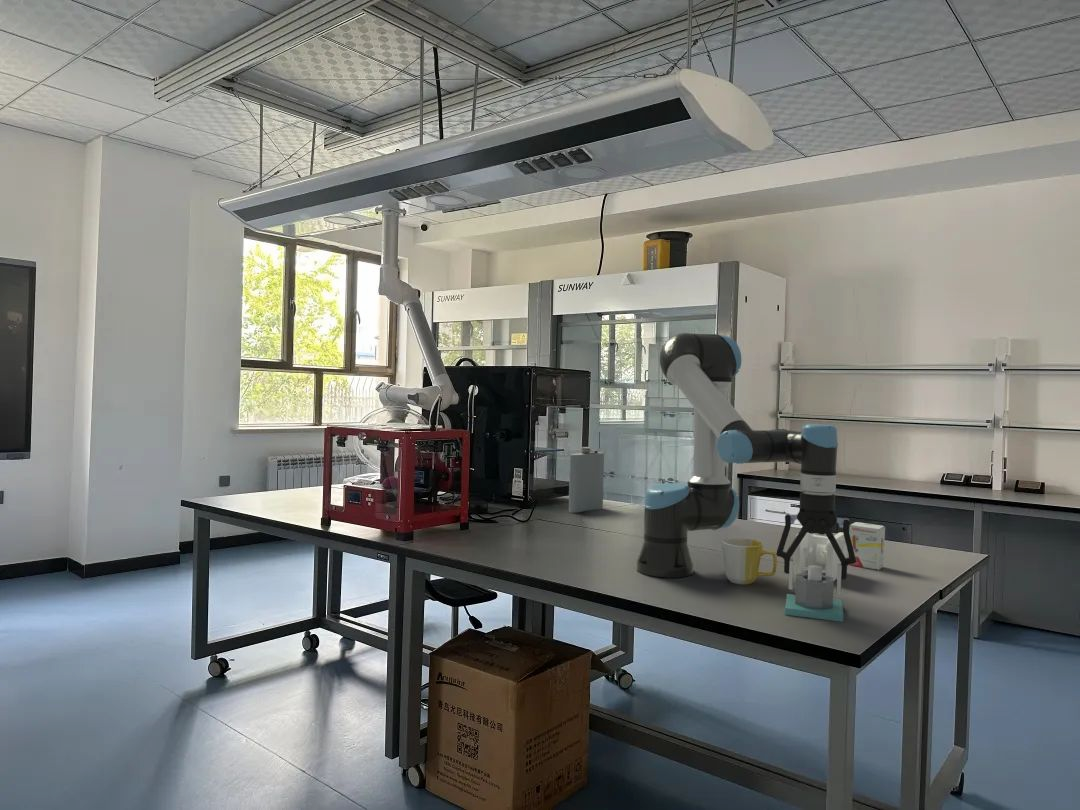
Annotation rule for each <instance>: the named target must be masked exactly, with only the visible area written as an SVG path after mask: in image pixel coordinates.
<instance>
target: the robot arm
mask: <svg viewBox="0 0 1080 810" xmlns="http://www.w3.org/2000/svg"><path fill="white" fill-rule="evenodd" d="M659 365H660V369H661V372H662V373H663V375H664V377H665V378H666V379H667V381H668V382H669V383H670V384H671V385H674V386H677V387H678V389H679V390H680V391H681V392H682V393H683V395H684V396H685V398H686V399H687V400H688V401H689V403H690V404H691V405H692V407H693V409H694V411H693V413H694V414H693V462H692V463H693V466H692V467H693V471H692V473H693V474H692V475H691V476H690V477H689V478H688V479H687V484H685V483H681V482H671V483H670V482H666V483H659V484H654V485H651V486H650V487H648V488H647V490H646V491H645V494H644V503H643V507H644V522H643V523H644V524H643V543H642V546H641V549H640V551H639V554H638V557H637V559H636V571H638V572H639V573H641V574H643V575H647V576H651V577H656V578H657V577H658V578H675V579H676V578H683V577H688V576H691V575H693V573H694V562H693V559H692V556H691V552H690V549H689V545H688V534H689V533H688V532H692V531H693V532H694V531H706V530H708V531H709V530H712V531H716V530H719V529H726V528H728V527H730V526H731V525H732V524H733V523H734V522H735V521H736V519H737V517H738V516H739V511H740V500H739V496H737V495H738V494H737V492H736V490H735V489H734V488H732V486H731V481H730V479H728V477H726V474H725V473H726V463H729V464H737V465H738V464H739V465H740V464H741V465H742V464H754V463H783V462H784V463H794V464H800V481H799V483H800V485H799V486H800V490H801V491H802V492H800V493H799V511H798V513H797V514H791V513H785V516H784V522H785V524H784V528H783V531H782V534H781V537H780V539H779V543H778V546H777V549H776V555H777V557H779V558H782V559H783V560H784V561H783V562H784V564H783V572H784V574H786V575H787V574H788V575H789V576H788V590H793V588H794V587H793V582H794V580H793V579H794V558H792V556H793V555H794V554H795V550H796V548H797V547H798V545H799V544H800V542H801V541H802V539H803V538H804V536H805V535H806V533H807V532H808V533H810V534H814V533H816V535H821V536H823V535H826V537H828V539H829V541H830V543H831V545H832V546H833V548H834V550H835V552H836V554H837V556H838V558H839V560H840V562H841V563H838V565H837V579H836V595H839V596H840V595H841V592H842V580H845V581H846V579H847V576H848V566H850V565H849V564H854V563H856V558H855V554H854V550H853V546H852V542H851V538H850V534H849V531H850V523H851V522H850V519H849V518H847V517H844V518H842V517H837V515H836V513H835V512H836V496H835V494H833V493H835V492H836V491H837V489H836V487H837V457H838V445H839V443H838V431H837V427H836V426H835V425H831V424H821V423H806V424H804V425H802V430H801V431H798V430H790V429H787V428H786V429H784V428H776V429H775V428H774V429H773V428H772V429H770V430H768V429H767V430H762V429H761V430H759V429H758V430H757V429H755V430H754V429H753V428H752V427H751V426H750V425H749V424H748V422H747V421H746V420H745V419H744V418H743V417H742V416H741V414H739V412H738V411H737V409H735V407H734V406H733V405H732V404H731V402H730V401H729V400H728V399H727V390H728V388H729V387H730V386H731V384H733V378H734V376H736V375H738V373H739V369H741V366H742V353H741V349H740V347H739V345H738V343H737V342H736V341H735V339H733V338H732V337H730V336H727V335H721V334H716V333H713V334H709V333H708V334H707V333H688V332H682V333H678V334H675V335H672V336H671V337H669V339H668V340H666V341H665V343H664V344H663V345H662V347H661V349H660V352H659ZM796 520H797V521H798V522H799V523H800V525H801V526H802V527H800V530H799V532H798V533H797V534H798V535H797V534H796V535H797V536H795V538H794V539H793V541H792V543H791V545H790V546H789V547H788V549H787V550H786V551H785V550H784V549H785V545H786V543H787V539H788V536H789V533H790V530H791V525H793V524H795V522H796ZM836 524H838V526H839V528H840V529H842V533H843V534H844V538H845V542H846V546H847V555H848V556H847V558H845V556H844V554H843V552H842V550H841V548H840V546H839V545H838V543H837V541H836V539H835V537H834V533H833V531H832V528H833V527H834V526H835V525H836Z"/></svg>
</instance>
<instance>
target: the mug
mask: <svg viewBox="0 0 1080 810" xmlns="http://www.w3.org/2000/svg"><path fill="white" fill-rule="evenodd" d="M763 546H764V544H763V542H762V541H760V540H757V539H754V538H747V537H729V538H728V537H726V538H724V539H722V540H721V547H722V549H721V550H722V555H723V556H722V557H723V563H724V570H725V571H724V572H725V576H726V578H727V579H728V580H729V582H730V583H732V584H736V585H751V584H752V583H754V582H755V580H756V579H757V578H758V577H771V576H774V575H776V573H777V572H776V571H777V566H778V565H777V564H778V560H777V559H778V556H777V555H776V553H777V551H773V550H763ZM765 555H772V558H773V568H772V571H771V572H763V571H762V572H760V571H759V568H760V563H761V557H762V556H765Z"/></svg>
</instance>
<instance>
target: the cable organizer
mask: <svg viewBox="0 0 1080 810" xmlns="http://www.w3.org/2000/svg"><path fill="white" fill-rule="evenodd" d="M797 535H798V533H797V534H796V536H797ZM833 535H834V534H833ZM796 536H795V537H796ZM834 537H835V539H836V541H837V543H838V545H839V546H840V548H841V550H842V552H843V554H844V556H845V558H848V550H847V546H846V542H845V538H844V534H843V531H842V532H837V533H835V535H834ZM838 563H841V562H840V560H839V558H838V556H837V554H836V552H835V550H834V548H833V546H832V545H831V543H830V541H829V539H828V537H827V536H823V535H819V534H817V533H814V534H810V533H808V532H807V533H806V535H805V536H804V538H803V539H802V541H801V542H800V544H799V545H798V547H797V548H796V550H795V551H794V559H793V574H795V575H796V574H802V573H808V566H809V565H816V566H821V567H822V574H824V575H825V576H828V577H832V578H833V580H834V582H835V581H837V565H838Z"/></svg>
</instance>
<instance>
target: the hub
mask: <svg viewBox="0 0 1080 810" xmlns="http://www.w3.org/2000/svg"><path fill="white" fill-rule="evenodd" d="M834 582H835V581H834V580H833V578H832V577H828V576H826V574H822V581H814V580H808V572H806V573H802V574H795V593H794V595H795V604H797V605H799V606H802V607H804V608H810V609H818V610H824V609H831V608H833V599H834V589H835V588H834V585H835V584H834Z"/></svg>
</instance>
